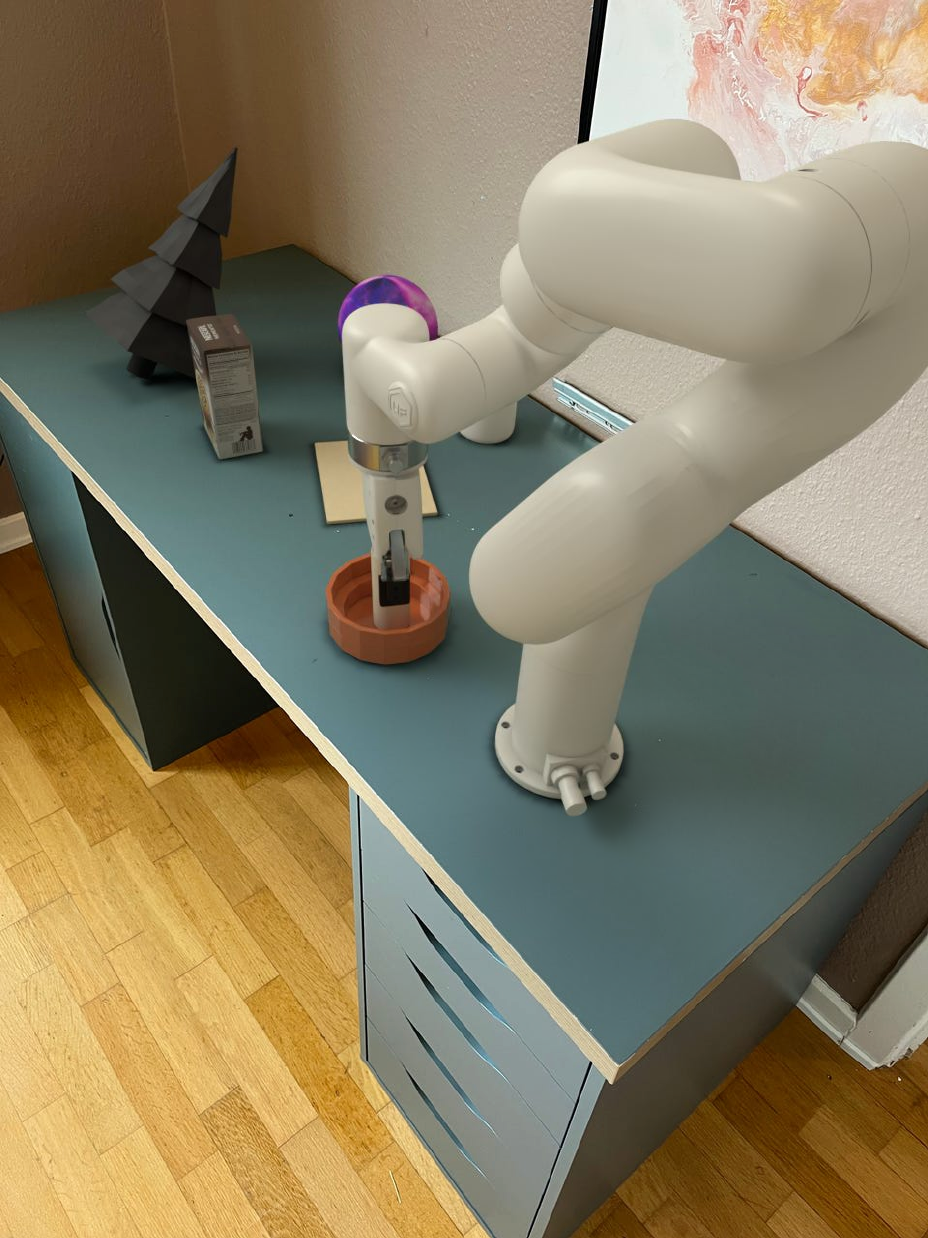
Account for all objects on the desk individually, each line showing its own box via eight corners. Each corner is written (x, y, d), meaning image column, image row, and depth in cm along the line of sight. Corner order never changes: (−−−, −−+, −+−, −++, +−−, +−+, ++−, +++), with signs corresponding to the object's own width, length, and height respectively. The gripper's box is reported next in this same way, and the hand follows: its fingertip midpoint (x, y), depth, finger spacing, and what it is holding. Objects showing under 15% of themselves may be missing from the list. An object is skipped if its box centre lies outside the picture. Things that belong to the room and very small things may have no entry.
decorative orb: (395, 341, 151) (395, 250, 141) (456, 378, 143) (460, 284, 133) (320, 368, 143) (314, 273, 133) (380, 408, 136) (379, 311, 125)
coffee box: (202, 427, 130) (184, 318, 119) (247, 418, 132) (233, 311, 121) (218, 461, 124) (200, 350, 113) (265, 452, 126) (252, 342, 115)
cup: (476, 450, 129) (481, 385, 122) (433, 410, 136) (435, 346, 129) (525, 436, 132) (532, 371, 125) (480, 397, 139) (485, 334, 132)
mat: (437, 515, 117) (437, 512, 117) (327, 524, 115) (327, 521, 115) (414, 438, 130) (414, 435, 130) (314, 445, 128) (314, 442, 127)
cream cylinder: (412, 630, 100) (412, 559, 94) (376, 634, 100) (373, 563, 93) (407, 606, 103) (406, 535, 96) (371, 610, 103) (368, 539, 96)
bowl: (458, 659, 99) (460, 626, 96) (335, 673, 97) (332, 640, 93) (436, 580, 108) (437, 547, 105) (323, 591, 106) (321, 557, 102)
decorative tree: (202, 408, 139) (304, 187, 130) (115, 379, 128) (220, 133, 118) (157, 368, 147) (250, 157, 138) (71, 338, 135) (166, 104, 126)
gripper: (444, 488, 81) (439, 639, 93) (413, 394, 93) (413, 538, 105) (358, 496, 79) (366, 647, 92) (338, 399, 91) (347, 545, 104)
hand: (391, 587), depth 98 cm, fingers closed on cream cylinder, 4 cm apart
